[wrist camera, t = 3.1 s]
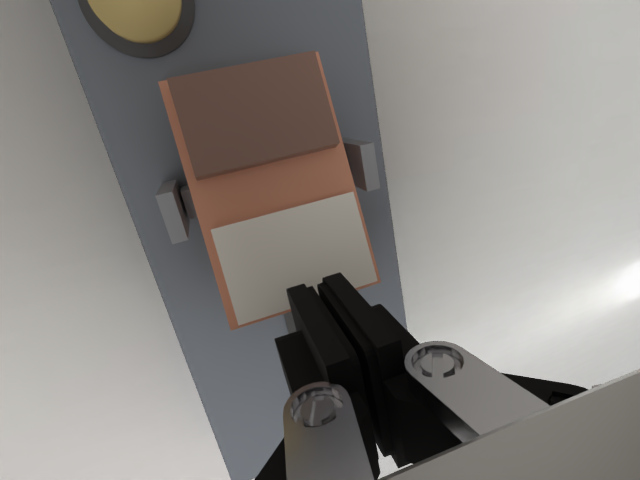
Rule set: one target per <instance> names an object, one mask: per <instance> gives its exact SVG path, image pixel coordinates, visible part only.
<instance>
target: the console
mask: <svg viewBox="0 0 640 480" xmlns="http://www.w3.org/2000/svg"><path fill="white" fill-rule="evenodd" d="M50 3H51V5H52V8H53V11H54V13H55V16H56V19H57V21H58V24H59V26H60V29H61V32H62V34H63V37H64V40H65V42H66V45H67V48H68V50H69V53H70V56H71V58H72V61H73V63H74V66H75V69H76V71H77V74H78V77H79V79H80V82H81V85H82V87H83V90H84V92H85V95H86V98H87V100H88V103H89V106H90V108H91V111H92V114H93V116H94V119H95V121H96V124H97V127H98V129H99V132H100V135H101V137H102V140H103V143H104V145H105V148H106V150H107V153H108V156H109V158H110V161H111V164H112V166H113V169H114V172H115V174H116V177H117V179H118V182H119V185H120V187H121V190H122V193H123V195H124V198H125V201H126V203H127V206H128V209H129V211H130V214H131V216H132V219H133V222H134V224H135V227H136V230H137V232H138V235H139V238H140V240H141V243H142V245H143V248H144V251H145V253H146V256H147V259H148V261H149V264H150V267H151V269H152V272H153V274H154V277H155V280H156V282H157V285H158V288H159V290H160V293H161V296H162V298H163V301H164V303H165V306H166V309H167V311H168V314H169V317H170V319H171V322H172V325H173V327H174V330H175V333H176V335H177V338H178V340H179V343H180V346H181V348H182V351H183V354H184V356H185V359H186V362H187V364H188V367H189V369H190V372H191V375H192V377H193V380H194V383H195V385H196V388H197V391H198V393H199V396H200V398H201V401H202V404H203V406H204V409H205V412H206V414H207V417H208V420H209V422H210V425H211V427H212V430H213V433H214V435H215V438H216V441H217V443H218V446H219V449H220V451H221V454H222V456H223V459H224V462H225V464H226V467H227V470H228V472H229V475H230V478H231V480H251V479H253V478H256V477H257V475H258V474H259V472H260V471H261V470H262V468H263V467H264V465H265V464H266V462H267V461H268V459H269V458H270V457H271V455H272V454H273V452H274V451H275V449H276V448H277V447H278V445H279V444H280V442H281V441H282V439H283V438H284V426H283V410H284V405H285V403H286V402H287V400H288V398H289V397H290V396H291V395H290V392H289V389H288V385H287V382H286V379H285V376H284V372H283V369H282V365H281V362H280V358H279V354H278V351H277V347H276V344H275V340H274V339H275V338H278V337H281V336H284V335H287V334H290V333H293V332H296V327H295V323H294V319H293V316H292V312H288V313H285V314H282V315H278V316H275V317H272V318H269V319H266V320H263V321H260V322H257V323H254V324H250V325H247V326H244V327H241V328H238V329H235V330H232V331H231V330H230V326H229V323H228V319H227V316H226V313H225V309H224V306H223V302H222V299H221V295H220V292H219V289H218V285H217V282H216V278H215V275H214V272H213V268H212V265H211V261H210V258H209V254H208V251H207V248H206V244H205V241H204V237H203V234H202V231H201V227H200V224H199V220H198V217H197V213H196V210H195V207H194V203H193V200H192V196H191V193H190V190H189V186H188V183H187V179H186V176H185V172H184V169H183V166H182V162H181V159H180V155H179V152H178V149H177V145H176V142H175V138H174V135H173V131H172V128H171V125H170V121H169V118H168V114H167V111H166V108H165V104H164V101H163V97H162V94H161V90H160V87H159V84H158V82H159V81H164V80H167V79H166V78H170V77H176V76H181V75H186V74H192V73H197V72H202V71H208V70H213V69H218V68H224V67H229V66H234V65H240V64H245V63H250V62H256V61H261V60H266V59H272V58H277V57H282V56H288V55H293V54H298V53H304V52H309V51H314V50H315V52H318V53H319V56H320V60H321V63H322V67H323V71H324V74H325V78H326V82H327V85H328V89H329V93H330V96H331V100H332V104H333V107H334V111H335V115H336V118H337V122H338V126H339V129H340V133H341V137H342V140H343V144H344V148H345V151H346V155H347V159H348V162H349V166H350V170H351V173H352V177H353V181H354V184H355V188H356V192H357V195H358V199H359V203H360V206H361V210H362V214H363V217H364V221H365V225H366V228H367V232H368V236H369V239H370V243H371V247H372V250H373V254H374V258H375V261H376V265H377V269H378V272H379V276H380V280H381V283H378V284H375V285H372V286H368V287H365V288H362V289H359V290H357V291H358V292H359V294H360V295H361V296H362V297H363V298H364V299H365V300H366V301H367V302H368V304H369V305H370V306H374V305H377V304H381V305H383V306H384V307H385V308H386V309H387V310H388V311H389V312H390V314H391V315H392V316H393V317H394V318H395V319H396V320H397V321H398V322H399V323H400V324H401V325H402V326H403V327H404V328H405V329H406V330H407V325H406V318H405V311H404V304H403V296H402V289H401V282H400V275H399V267H398V260H397V253H396V246H395V239H394V231H393V224H392V217H391V210H390V203H389V195H388V188H387V181H386V174H385V166H384V159H383V152H382V145H381V138H380V130H379V123H378V116H377V109H376V101H375V94H374V87H373V80H372V73H371V65H370V58H369V51H368V44H367V37H366V29H365V22H364V15H363V8H362V0H50Z"/></svg>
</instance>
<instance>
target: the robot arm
mask: <svg viewBox="0 0 640 480" xmlns="http://www.w3.org/2000/svg"><path fill="white" fill-rule="evenodd" d="M317 288H318V293H319V295H318V293H317V292H316V290H315V289H314V287H313V286H310V287H306V285H305V284H304V283H303V284H300V285H297V286H294V287H290V288H287V289H286V291H287V296H288V300H289V304H290V308H291V312H292V316H293V319H294V323H295V327H296V332H293V333H290V334H287V335H284V336H281V337H278V338H275V339H274V340H275V344H276V347H277V351H278V354H279V358H280V362H281V365H282V369H283V372H284V376H285V379H286V382H287V385H288V389H289V392H290V395H291V396H290V397H289V398H288V400H287V402H286V403H285V405H284V410H283V426H284V438H283V439H282V441H281V442H280V444H279V445H278V447H277V448H276V449H275V451H274V452H273V454H272V455H271V457H270V458H269V459H268V461H267V462H266V464H265V465H264V467H263V468H262V470H261V471H260V472H259V474H258V475H257V477H256V478H255V480H377V479H378V477H379V474H380V469H379V464H378V459H379V458H378V452H377V447H376V444H377V445H378V447H379V449H380V451H381V453H382V454H383V456H384V457H386V456H389V455H391V456H392V458H393V459H394V461H395V463H396V465H397V467H398V468H400V467H403V466H405V465H407V464H410V463H412V464H413V465H410V466H408V467H406V468H403V469H401V470H399V471H396V472H394V473H392V474H389V475H387V476H385V477H382V478H380V479H378V480H640V369H638V370H636V371H633V372H631V373H629V374H626V375H624V376H621V377H619V378H616V379H614V380H611V381H609V382H606V383H604V384H600V385H594V386H592V389H590V390H588V389H586V388H583V387H579V386H575V385H571V384H566V383H559V382H553V381H547V380H541V379H535V378H529V377H523V376H517V375H511V374H504V373H500V372H498V371H497V370H495V369H494V368H492V367H491V366H489V365H488V364H486V363H485V362H483V361H482V360H480V359H479V358H477V357H476V356H474V355H472V354H471V353H469V352H468V351H466V350H465V349H463V348H462V347H460V346H458V345H456V344H453V343H449V342H445V341H431V342H425V343H422V344H419V343H418V341H417V340H416V339H415V338H414V337H413V336H412V335H411V334H410V333H409V332H408V331H407V330H406V329H405V328H404V327H403V326H402V325H401V324H400V323H399V322H398V321H397V320H396V319H395V318H394V317H393V316H392V315H391V314H390V312H389V311H388V310H387V309H386V308H385V307H384V306H383V305H381V304H377V305H374V306H370V305H369V304H368V302H367V301H366V300H365V299H364V298H363V297H362V296H361V295H360V294H359V292H358V291H357V290H356V289H355V288H354V287H353V286H352V285H351V283H350V282H349V281H348V280H347V279H346V278H345V277H344V276H343V275H342V273H340V272H339V273H336V274H333V275H329V276H326V277H323V278H322V283H320V284H317Z"/></svg>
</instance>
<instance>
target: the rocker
mask: <svg viewBox="0 0 640 480" xmlns="http://www.w3.org/2000/svg"><path fill="white" fill-rule="evenodd" d="M166 79H167V80H164V81H159V82H158V84H159V87H160V90H161V94H162V97H163V101H164V104H165V108H166V111H167V114H168V118H169V121H170V125H171V128H172V131H173V135H174V138H175V142H176V145H177V149H178V152H179V155H180V159H181V162H182V166H183V169H184V172H185V176H186V179H187V183H188V186H189V190H190V193H191V196H192V200H193V203H194V207H195V210H196V213H197V217H198V220H199V224H200V227H201V231H202V234H203V237H204V241H205V244H206V248H207V251H208V254H209V258H210V261H211V265H212V268H213V272H214V275H215V278H216V282H217V285H218V289H219V292H220V295H221V299H222V302H223V306H224V309H225V313H226V316H227V319H228V323H229V326H230V330H231V331H232V330H235V329H238V328H241V327H244V326H247V325H250V324H254V323H257V322H260V321H263V320H266V319H269V318H272V317H275V316H278V315H282V314H285V313H288V312H291V308H290V304H289V300H288V296H287V291H286V289H287V288H290V287H294V286H297V285H300V284H303V283H304V284H305V285H306V287H310V286H313V287H314V289H315V290H316V292H317V293H318V288H317V284H320V283H322V278H323V277H326V276H329V275H333V274H336V273H339V272H340V273H342V275H343V276H344V277H345V278H346V279H347V280H348V281H349V282H350V283H351V285H352V286H353V287H354V288H355V289H356V290H359V289H362V288H365V287H368V286H372V285H375V284H378V283H381V280H380V276H379V272H378V269H377V265H376V261H375V258H374V254H373V250H372V247H371V243H370V239H369V236H368V232H367V228H366V225H365V221H364V217H363V214H362V210H361V206H360V203H359V199H358V195H357V192H356V188H355V184H354V181H353V177H352V173H351V170H350V166H349V162H348V159H347V155H346V151H345V148H344V144H343V140H342V137H341V133H340V129H339V126H338V122H337V118H336V115H335V111H334V107H333V104H332V100H331V96H330V93H329V89H328V85H327V82H326V78H325V74H324V71H323V67H322V63H321V60H320V56H319V53H318V52H315V50H314V51H309V52H304V53H298V54H293V55H288V56H282V57H277V58H272V59H266V60H261V61H256V62H250V63H245V64H240V65H234V66H229V67H224V68H218V69H213V70H208V71H202V72H197V73H192V74H186V75H181V76H176V77H170V78H166ZM318 295H319V293H318Z"/></svg>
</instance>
